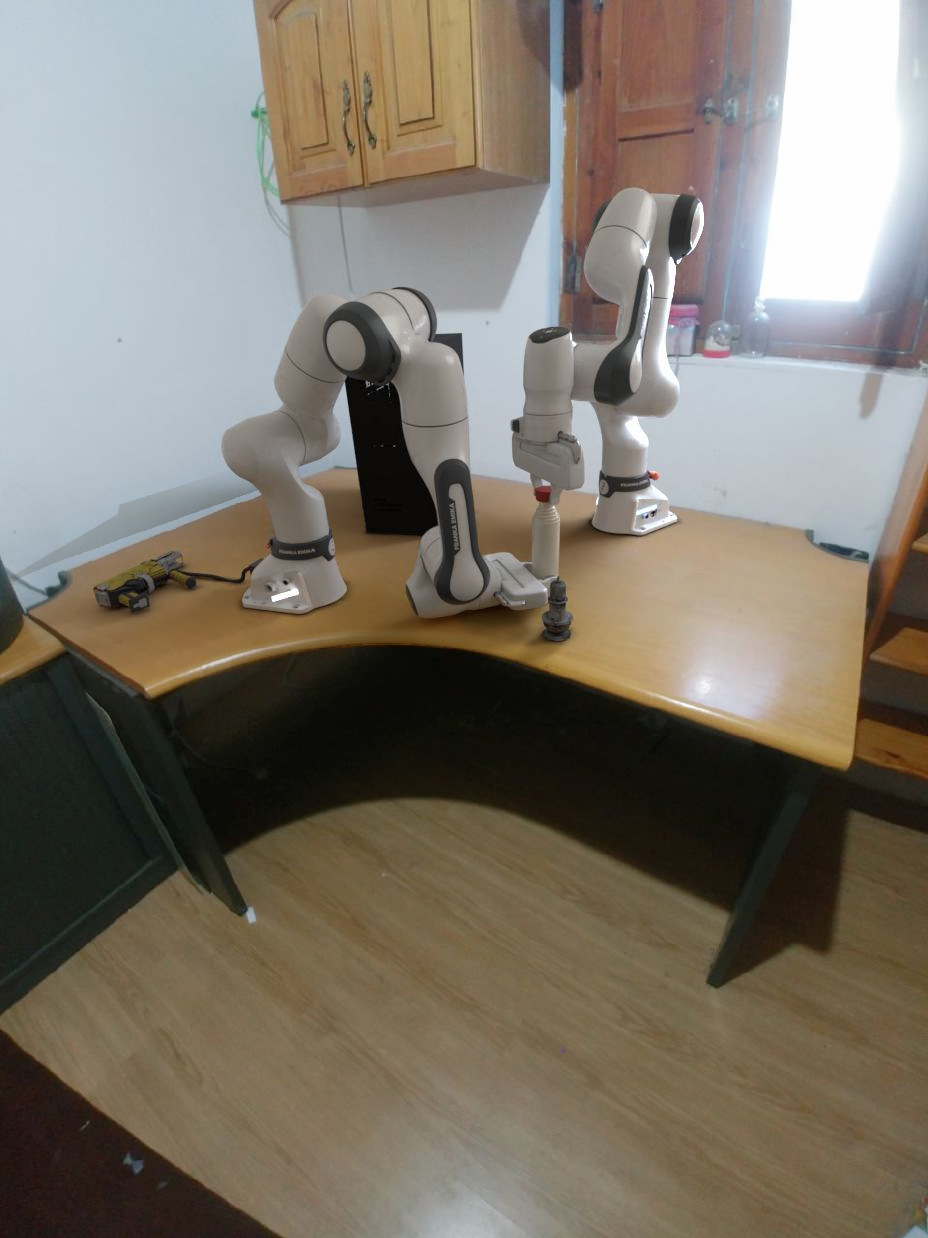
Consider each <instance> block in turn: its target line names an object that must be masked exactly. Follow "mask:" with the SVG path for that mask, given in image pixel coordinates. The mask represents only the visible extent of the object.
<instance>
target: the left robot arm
mask: <svg viewBox="0 0 928 1238" xmlns="http://www.w3.org/2000/svg"><path fill="white" fill-rule="evenodd" d="M437 330H438V317H437V312H436V309H435V307H434V305H433V303H432V301H431V300H430V298H429V297H428V296H427V295H426V294H424V293H423V292H421V290H418V289H415V288H414V287H413V288H412V287H408V286H397V287H393V288H390V289H383V290H382V289H381V290H377V291H373V292H370V293H368V294H366V295H364V296H362V297H358V298H357V299H354V300H353V301H348V300H346V299H345V298H344V297H342V296H341V295H338V294H335V293H331V292H320V293H316V294H314V295H313V296H311V297H310V298H309V299H308V300H307V302H306V303H305V305H304V306H303V308H302V310H301V311H300V312H299V315H298V316H297V318H296V320H295V322H294V324H293V325H292V328H291V330H290V332H289V334H288V337H287V339H286V343H285V346H284V348H283V351H282V354H281V357H280V359H279V362H278V365H277V367H276V370H275V374H274V376H273V377H274V378H273V386H274V389H275V392H276V394H277V396H278V398H279V399H280V401H281V403H283V404H281V406H280V407H279V408H277V409H276V410H273V411H271V412H266V413H263V414H259V415H256V416H252V417H247V418H245V419H243V420H241V421H239V422H237V423H236V424H234V425H232V426H231V427H229V428H227V429H226V430H225V431H224V433H223V435H222V438H221V442H220V443H221V447H220V449H221V455H222V457H223V461H224V462H225V465H227V467H228V468H229V470H230V471H232V472H233V474H234V475H236V476H237V477H239V478H240V479H243V480H245V481H247V482H248V483H250V484H251V485H253V486H254V488H256V489H257V491H258V492H259V493H260V494H261V496H262V497H263V500H264V501H265V504H266V505H267V509H268V512H269V515H270V516H269V517H270V520H271V523H272V527H273V532H272V536H271V537H269V539H268V541H267V543H266V544H265V547H266V548H265V549H266V550H267V551H268V550H269V549H270V553H268V554H267V555H266V556H265V557H264V558H263V557H260V558H258V559H257V560H255V561H253V562H252V563H250V564H248V565H247V567H244V568H243V569H242V570H241V574H240V577H239V578H237V579H232V578H227V577H224V576H220V575H217V574H211V573H202V572H201V573H200V572H190V571H183V570H179V569H172V570H171V571H177V572H179V573H182V574H184V575H187V576H189V577H193V578H206V579H214V580H219V581H222V582H226V583H233V584H234V583H235V584H240V583H242V582H244V581H245V578H246V574H247V573H248V572H249V574H250V578H249V587H248V588H247V589H246V591H245V592H244V594H243V595H242V598H241V604H242V606H243V608H246V609H247V608H248V609H255V610H261V611H262V610H263V611H270V612H279V613H287V614H294V615H295V614H296V615H303V614H306V613H308V612H311V611H312V610H315V609H317V608H320V607H321V608H322V607H324V606H327V605H331V604H333V603H334V602H336V601H338V600H340V599H341V598H342V597H344V596H345V595H346V593H347V591H348V587H347V586H348V585H346V582H345V580H344V579H343V576H342V573H341V571H340V567H339V565H338V563H337V562H338V561H337V559H336V546H335V540H334V536H333V532H332V529H331V528H330V527H329V520H328V514H327V509H326V502H325V499H324V496H323V494H322V493H321V492H320V491H319V490H318V489H317V488H315V487H314V486H311V485H309V484H306V483H304V482H303V480H302V477H301V475H300V473H299V468H300V467H302V466H305V465H308V464H310V463H313V462H316V461H319V460H322V459H323V458H324V457H326V456H327V455H329V454H330V453H331V452H333V451H335V449H336V448H338V446H339V445H340V441H341V436H342V435H341V434H342V431H341V426H340V423H339V420H338V418H337V416H336V414H335V413H334V409H335V408H334V407H335V405H336V402H337V400H338V398H339V395H340V393H341V391H342V389H343V386H344V385H345V380H346V377H347V376H349V377H351V378H355V379H359V380H365V381H368V382H370V383H372V384H375V385H377V386H383V387H384V386H385V385H389V384H388V383H389V382H392V383H393V384H394V385H395V387H396V388H397V391H398V394H399V398H400V406H401V417H402V426H403V433H404V437H405V441H406V445H407V449H408V452H409V455H410V458H411V460H412V462H413V464H414V466H415V467H416V469H417V470H418V472H419V474H420V475H421V477H422V479H423V480H424V482H425V484H426V486H427V487H428V489H429V491H430V493H431V496H432V498H433V501H434V504H435V507H436V511H437V518H438V526H435V527H433V528H431V529H429V530H428V531H427V532H426V533H425V534H424V535H421V538H420V540H419V542H418V552H417V558H416V562H415V565H414V568H413V571H412V573H411V575H410V577H409V578H408V579H407V580H406V581H405V588H404V589H405V593H406V598H407V600H408V602H409V605H410V607H411V609H412V611H413V613H414V615H416V616H417V617H418V618H421V619H437V618H444V617H449V616H453V615H454V616H455V615H458V614H459V613H462V612H464V611H477V610H478V611H479V610H483V609H487V608H488V609H489V608H492V607H497V606H500V605H502V607H508V608H509V609H510V610H515V611H525V610H532V609H539V608H544V607H546V605H547V604H548V590H547V589H548V588H549V587H550V584H551V582H552V581H554V580H557V577H556V576H555V575H550V576H547V579H545V580H543V581H542V579H540V580H537V579H536V578H535V577H534V576H533V575H532V561H531V562H529V561H519V560H518V559H517V558H516V556H514V555H513V554H512V553H511V552H506V551H503V552H495V553H488V554H484V555H482V553H481V551H480V546H479V538H478V529H477V517H476V509H475V501H474V493H473V485H472V468H471V449H470V448H471V446H470V445H471V443H470V415H469V404H468V393H467V387H466V381H465V374H464V375H463V371H462V367H461V363H460V359H459V357H458V355H457V353H456V352H455V351H454V350H453V349H452V348H450V347H449V346H446V345H444V344H441V343H436V342H432V341H433V339H434V337H435V334H437ZM383 380H385V381H383ZM382 381H383V382H382ZM145 562H146V561H143V562H141V563H140V564H139V565H141V564H143V563H145ZM171 571H170V572H171Z"/></svg>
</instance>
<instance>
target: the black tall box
mask: <svg viewBox="0 0 928 1238" xmlns="http://www.w3.org/2000/svg"><path fill="white" fill-rule="evenodd" d="M432 342H436V343H441V344H444V345H446V346H449V347H450V348H452V349H453V350H454V351H455V352H456V353H457V355H458V357H459V359H460V363H461V367H462V371H463V375H464V376H465V369H464V368H465V367H464V348H463V346H464V345H463V332H452V333H450V332H448V333H436V334H435V337H434V339H433V341H432ZM383 381H385V380H383ZM383 381H382V382H383ZM344 387H345V393H346V401H347V408H348V416H349V422H350V429H351V430H350V431H351V436H352V443H353V450H354V451H353V452H354V459H355V464H356V471H357V478H358V485H359V486H358V487H359V492H360V493H359V494H360V500H361V507H362V515H363V520H364V529H365V533H366V534H367V533H368V534H387V535H388V534H389V535H390V534H391V535H413V536H414V535H415V536H423V535H424V534H425V533H426V532H427V531H428V530H429V529H431V528H433V527H435V526H438V518H437V511H436V507H435V504H434V501H433V498H432V496H431V493H430V491H429V489H428V487H427V486H426V484H425V482H424V480H423V479H422V477H421V475H420V474H419V472H418V470H417V469H416V467H415V466H414V464H413V462H412V460H411V458H410V455H409V452H408V449H407V445H406V441H405V437H404V433H403V426H402V417H401V406H400V398H399V394H398V391H397V388H396V387H395V385H394V384H393V383H392V382H389V383H388V384H387V385H385V386H377V385H375V384H372V383H370V382H368V381H365V380H359V379H355V378H351V377H349V376H347V377H346V380H345V382H344Z"/></svg>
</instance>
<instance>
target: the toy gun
mask: <svg viewBox="0 0 928 1238" xmlns="http://www.w3.org/2000/svg"><path fill="white" fill-rule="evenodd" d="M180 558H181V562H179V561H177V560H178V559H180ZM144 562H145V563H143V562H142V563H143V564H141V563H140V564H141V565H140V564H139V565H136V566H134V567H132V568H130V569H128V570H126V571H124V572H122V573H119V574H117V575H115V576H113V577H111V578H109V579H107V580H104V581H103V582H101V583H98V584H96V585H95V586H93V587H92V590H93V593H94V596H95V600H96V602H97V605H99V606H100V607H101V608H105V609H108V608H115V607H121V606H127V607H129V609H130V614H136V613H138V612H141V611H142V610H145V609H147V608H150V607H151V605H150V601H149V596H148V595H150V594H151V593H153V592H154V591H155V589H156V588H155V587H158V586H160V585H163V584H165V583H168V581H172V582H175V583H178V584H180V585H182V586H185V587H187V588H188V589H193V588H195V587H196V586H197V580H196V579H197V578H196V577H194V576H187V575H184V574H182V573H179V572H177V571H171V570H172V569H176V570H178V568H180V567H183V566H185V565H184V564H185V562H184V558H183V554H182V552H181V551H178V550H177V551H175V550H174V549H172V550H170V551H168V552H166V553H164V554H161V555H159V556H157V557H156V558H153V559H152V558H151V559H149V560H147V561H144Z"/></svg>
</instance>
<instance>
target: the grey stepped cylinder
mask: <svg viewBox="0 0 928 1238" xmlns="http://www.w3.org/2000/svg"><path fill="white" fill-rule="evenodd" d="M568 600H569V598H568V596H567V583H566V581H564V580H562V579H561V577H560V576H558V577H557V580H554V581H552V582H551V584H550V596H549V597H548V601H549V605H548V610H546V611H544V612H543V613H542V614H541V616H540V617H541V620H542V621H543V622H542V623H543V626H544V629H543V630H542V636H543V637H544V638H545V639H547V640H548V641H553V642H554V641H555V642H561V641H565V640H568V639H570V637H571V636H572V632H571V630H570V629H569V628H570V626H571V625H572V622H573V621H574V615H573V614H572V613H571V612H570V611H567V602H568Z"/></svg>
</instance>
